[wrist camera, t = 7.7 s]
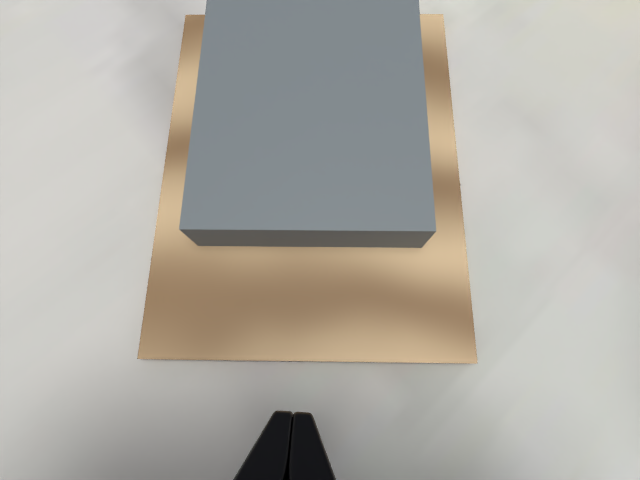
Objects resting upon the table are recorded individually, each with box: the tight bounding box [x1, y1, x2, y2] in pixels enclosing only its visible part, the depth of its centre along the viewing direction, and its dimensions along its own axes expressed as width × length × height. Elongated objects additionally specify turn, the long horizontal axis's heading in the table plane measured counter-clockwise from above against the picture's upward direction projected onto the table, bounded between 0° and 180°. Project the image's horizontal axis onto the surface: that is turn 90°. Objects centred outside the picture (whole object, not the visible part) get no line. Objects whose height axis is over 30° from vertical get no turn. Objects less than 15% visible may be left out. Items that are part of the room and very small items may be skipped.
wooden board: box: [137, 14, 477, 363], centre depth 19 cm, size 18×14×1 cm
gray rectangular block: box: [179, 0, 436, 248], centre depth 18 cm, size 2×10×12 cm
